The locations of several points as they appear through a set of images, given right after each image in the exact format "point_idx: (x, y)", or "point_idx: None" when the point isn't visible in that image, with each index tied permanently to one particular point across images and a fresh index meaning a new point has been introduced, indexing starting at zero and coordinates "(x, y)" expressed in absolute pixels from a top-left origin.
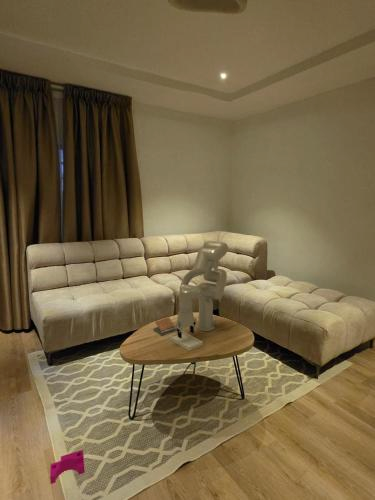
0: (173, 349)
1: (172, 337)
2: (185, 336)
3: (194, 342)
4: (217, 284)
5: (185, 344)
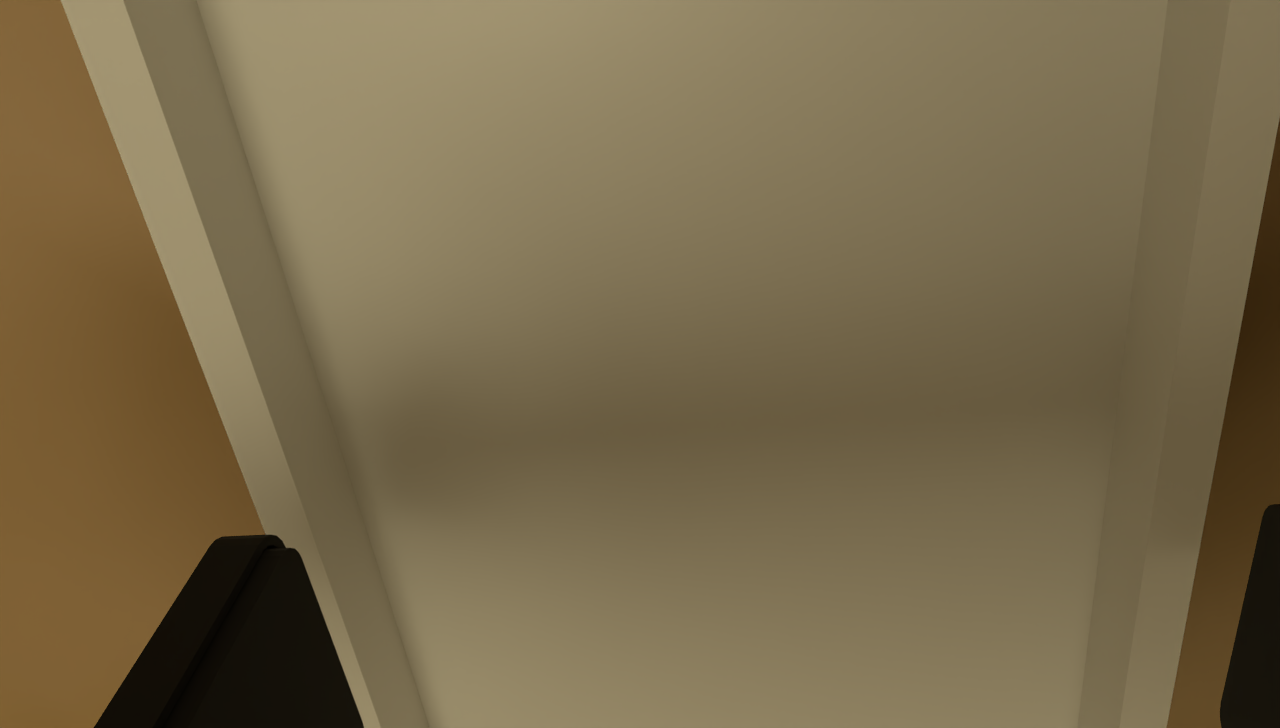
0: (30, 592)
1: (98, 7)
2: (1032, 61)
3: (939, 706)
4: None
5: (538, 653)
